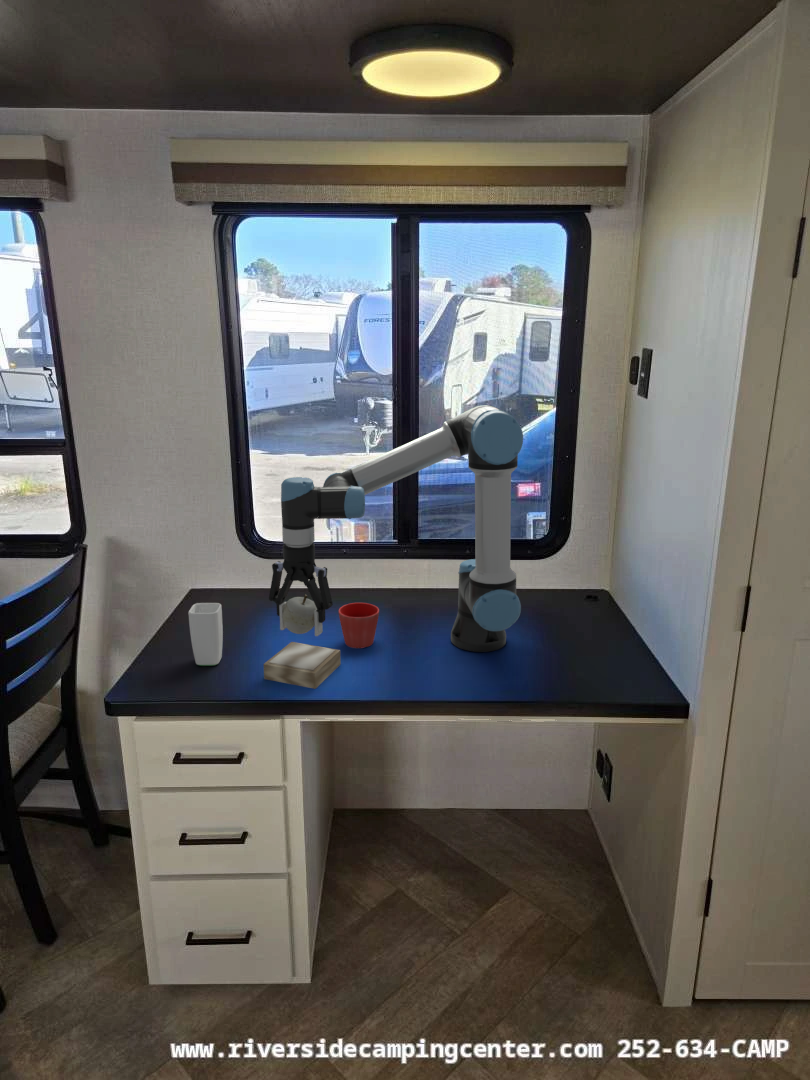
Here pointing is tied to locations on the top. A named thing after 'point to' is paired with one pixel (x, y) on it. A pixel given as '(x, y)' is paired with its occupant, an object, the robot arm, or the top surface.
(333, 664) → the plinth
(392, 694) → the top surface
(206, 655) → the cup
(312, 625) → the decorative object
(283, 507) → the robot arm
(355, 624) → the flower pot
